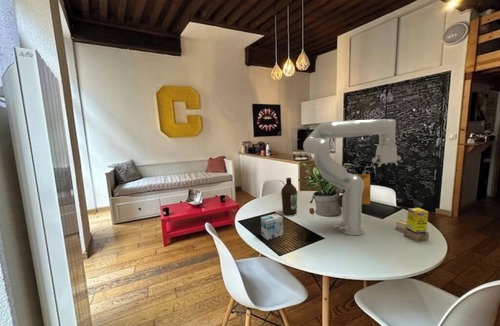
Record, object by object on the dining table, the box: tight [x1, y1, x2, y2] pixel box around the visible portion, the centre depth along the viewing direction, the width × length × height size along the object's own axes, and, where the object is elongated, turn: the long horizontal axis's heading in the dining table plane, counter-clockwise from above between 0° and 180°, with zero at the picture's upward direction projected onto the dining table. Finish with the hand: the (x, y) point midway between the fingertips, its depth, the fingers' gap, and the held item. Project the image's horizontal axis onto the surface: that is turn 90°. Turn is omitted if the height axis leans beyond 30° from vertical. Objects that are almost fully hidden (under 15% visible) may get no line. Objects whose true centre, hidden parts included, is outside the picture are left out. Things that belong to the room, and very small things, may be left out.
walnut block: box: [403, 229, 429, 243], centre depth 112 cm, size 7×7×4 cm
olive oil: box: [280, 177, 298, 216], centre depth 152 cm, size 11×11×25 cm
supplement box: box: [406, 207, 429, 234], centre depth 110 cm, size 6×6×11 cm
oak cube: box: [395, 218, 407, 234], centre depth 120 cm, size 5×5×5 cm
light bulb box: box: [260, 213, 284, 241], centre depth 122 cm, size 11×7×11 cm, turn 117°
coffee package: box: [354, 173, 372, 206], centre depth 165 cm, size 10×12×22 cm
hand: (386, 173), depth 124 cm, fingers open, 9 cm apart
